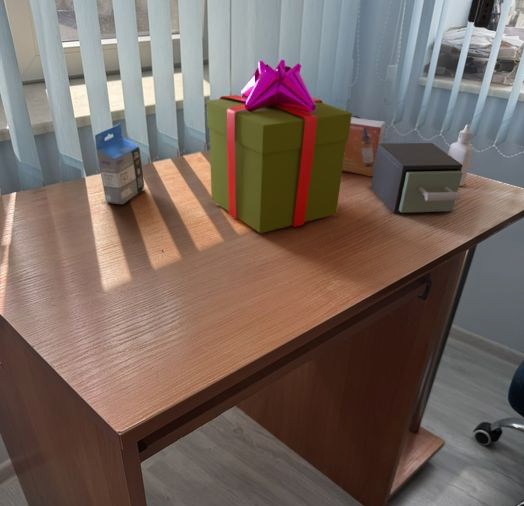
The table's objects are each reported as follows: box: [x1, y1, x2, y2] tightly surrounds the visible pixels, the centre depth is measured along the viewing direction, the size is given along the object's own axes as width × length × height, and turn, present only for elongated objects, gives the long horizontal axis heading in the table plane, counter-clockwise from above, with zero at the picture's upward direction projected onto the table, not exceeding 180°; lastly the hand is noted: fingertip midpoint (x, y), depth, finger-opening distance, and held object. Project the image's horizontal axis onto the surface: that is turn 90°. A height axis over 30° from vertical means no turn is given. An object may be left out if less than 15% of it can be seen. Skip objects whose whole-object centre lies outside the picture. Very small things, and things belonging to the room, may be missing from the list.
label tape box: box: [94, 123, 146, 205], centre depth 98 cm, size 9×4×12 cm, turn 162°
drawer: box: [399, 169, 463, 214], centre depth 99 cm, size 17×10×7 cm, turn 9°
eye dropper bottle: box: [447, 124, 474, 187], centre depth 111 cm, size 4×6×12 cm
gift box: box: [206, 59, 353, 234], centre depth 91 cm, size 21×21×25 cm
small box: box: [342, 117, 386, 177], centre depth 115 cm, size 8×6×10 cm
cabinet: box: [370, 142, 463, 215], centre depth 103 cm, size 14×12×9 cm
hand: (476, 24), depth 86 cm, fingers open, 8 cm apart
